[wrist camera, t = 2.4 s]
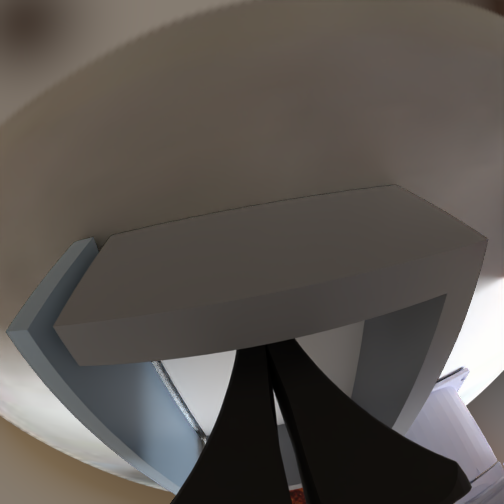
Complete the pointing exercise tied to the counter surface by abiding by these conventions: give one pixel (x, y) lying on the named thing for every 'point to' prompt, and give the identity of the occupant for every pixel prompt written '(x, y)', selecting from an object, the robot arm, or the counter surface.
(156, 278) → the housing
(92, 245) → the door
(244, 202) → the counter surface
